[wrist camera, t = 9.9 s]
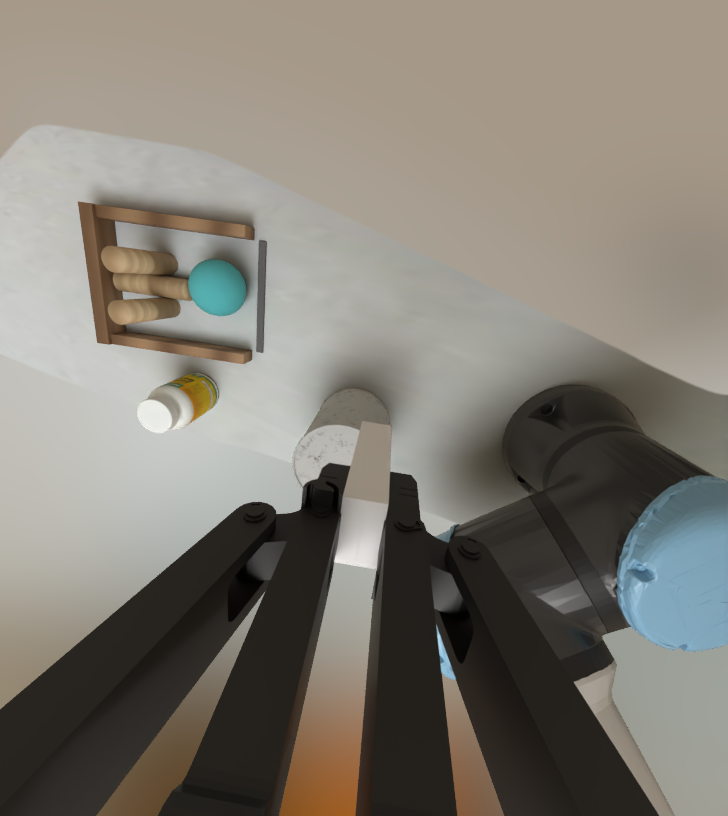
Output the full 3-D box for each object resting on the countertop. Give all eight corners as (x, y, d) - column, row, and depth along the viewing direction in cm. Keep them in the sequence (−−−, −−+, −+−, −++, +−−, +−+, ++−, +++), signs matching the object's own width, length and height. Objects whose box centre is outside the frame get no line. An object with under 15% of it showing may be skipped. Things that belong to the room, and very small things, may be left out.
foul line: (266, 242, 39) (265, 241, 39) (263, 352, 44) (262, 352, 44) (259, 241, 39) (259, 240, 39) (256, 351, 44) (256, 351, 44)
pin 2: (179, 298, 42) (129, 302, 34) (180, 318, 43) (131, 326, 35) (160, 295, 42) (106, 298, 35) (162, 315, 43) (109, 322, 35)
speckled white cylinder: (338, 464, 48) (319, 520, 37) (305, 405, 46) (274, 446, 34) (401, 439, 46) (402, 491, 35) (370, 376, 44) (360, 409, 32)
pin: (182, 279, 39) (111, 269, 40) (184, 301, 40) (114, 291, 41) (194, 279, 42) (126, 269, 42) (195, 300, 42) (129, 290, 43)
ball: (177, 248, 36) (216, 262, 41) (172, 307, 37) (211, 312, 43) (227, 257, 34) (260, 270, 40) (220, 318, 36) (253, 322, 41)
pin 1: (177, 254, 41) (123, 247, 33) (178, 276, 41) (126, 274, 34) (157, 252, 41) (99, 244, 33) (159, 273, 42) (102, 270, 34)
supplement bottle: (193, 414, 48) (145, 444, 39) (174, 378, 46) (120, 401, 37) (226, 403, 47) (186, 432, 38) (209, 366, 45) (162, 387, 36)
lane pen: (254, 228, 39) (243, 224, 36) (251, 359, 44) (241, 365, 41) (100, 207, 40) (77, 201, 37) (116, 339, 45) (97, 342, 42)
